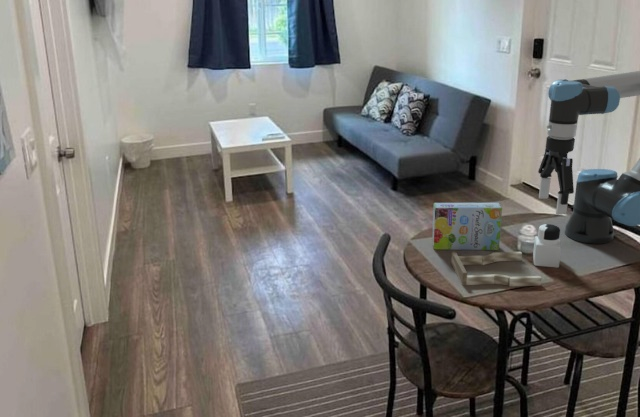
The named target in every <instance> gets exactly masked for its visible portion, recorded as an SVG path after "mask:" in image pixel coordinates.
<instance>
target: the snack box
mask: <svg viewBox="0 0 640 417" xmlns="http://www.w3.org/2000/svg"><path fill="white" fill-rule="evenodd" d="M432 211H433V212H432V237H431V238H432V239H431V240H432V241H431V242H432V248H433V249H434V250H447V251H448V250H451V251H452V250H453V251H455V250H457V251H458V250H460V251H463V250H465V251H467V250H468V251H469V250H470V251H499V249H500V241H501V228H502V217H503V216H502V213H503V212H502V211H503V207H502V206H501V204H500V203H499V202H434V203H433V208H432Z"/></svg>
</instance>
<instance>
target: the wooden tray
mask: <svg viewBox="0 0 640 417" xmlns="http://www.w3.org/2000/svg"><path fill="white" fill-rule="evenodd" d="M522 259H523V253H522V251H504V252H500V251H499V252H492V253H489V254H484V255H458V253H457V251H452V252H451V261H450V262H451V263H450V264H451V266H452V268H453V270H454V272H455V273H456V276H457V277H458V280H459V282H460V284H461V285H462V286H470V285H471V286H477V285H479V286H480V285H494V284H496V285H504V286H509V287H531V286H532V287H535V286H537V287H538V286H542V279H543V278H542V276H541V275H527V276H525V275H523V276H522V275H521V276H509V275H506V274H505V275H504V274H498V273H493V274H471V275H469V274H468V272H467V270H466V268H465V266H470V265H471V266H473V265H474V266H475V265H476V266H477V265H482V266H485V265H488V264H492V263H495V262H514V261H515V262H517V261H522Z"/></svg>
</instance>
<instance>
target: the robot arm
mask: <svg viewBox="0 0 640 417" xmlns="http://www.w3.org/2000/svg"><path fill="white" fill-rule="evenodd" d="M547 96H548V98H549V100H550V110H549V118H548V125H547V126H546V129H547V133H546V134H547V137H546V140H545V149H544V154H543V157H542V159H541V162H540V165H539V168H538V171H537V173H538V174H540V175H539V176H540V183H539V191H538V192H539V193H538V199H540V200H541V199H549V195H550V189H551V188H550V187H551V179H552V173H553V172H555V173H556V174H557V179H558V187H559V190H558V192H557V203H556V210H555V214H556V215H567V211H568V210H567V209H568V203H569V197H570V194H574V202H573V209H572V210H573V211H572V213H571V215H570V217H569V219H568V220H567V222H566V224H565V226H564V227H565V229H564V234H565V235H566V236H567V237H568V238H570V239H572V240H573V241H576V242H581V243H586V244H594V245H595V244H596V245H597V244H599V245H601V244H606V243H607V244H608V243H610V242H611V241H613V239H614V234H615V230H614V226H613V222H612V220H614V221H616V222H617V223H619V224H623V225H625V226H629V227H636V226H640V157H639V159H638V160H637V161H636V163H635V164H634V165H633V166H632V169H630V170H629V171H626V172H622V173H621V175H620V176H619V175H618V172H617V171H615V170H612V169H605V168H589V169H588V168H587V169H584V170H582V171H580V172H579V173H578V175H577V179H576V182H575V183H576V185H575V191H574V177H573V176H574V174H573V163H574V162H573V158H568V154H569V153H571V152H573V150H574V148H575V140H576V139H575V137H576V135H577V130H578V120H579V116H583V115H584V116H585V115H599V114H600V115H604V114H608V113H612V112H614V111H616V110H617V109H618V108H619V105H620V100H621V99H623V98H624V99H625V98H630V97H638V96H640V70H637V71H635V70H634V71H629V72H625V73H624V72H623V73H616V74H609V75H602V76H595V77H589V78H582V79H574V80H568V79H557V80H555V81H553V82H552V83H551V85H550V86H549V88H548V93H547Z"/></svg>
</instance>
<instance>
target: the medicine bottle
mask: <svg viewBox="0 0 640 417" xmlns="http://www.w3.org/2000/svg"><path fill="white" fill-rule="evenodd" d="M560 234H561V229H560V227H559V226H557V225H555V224H550V223H544V224H541V225H540V226H539V228H538V234H537V235H535V236H534V243H533V244H534V246H533V252H532V253H533V254H532V258H533V265H534V266H536V267H547V268H559V267H560V260H561V253H562V244H561V240H560V237H561V236H560Z"/></svg>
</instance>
